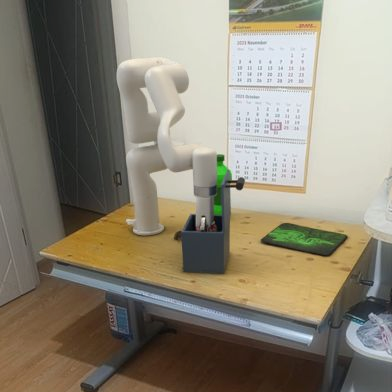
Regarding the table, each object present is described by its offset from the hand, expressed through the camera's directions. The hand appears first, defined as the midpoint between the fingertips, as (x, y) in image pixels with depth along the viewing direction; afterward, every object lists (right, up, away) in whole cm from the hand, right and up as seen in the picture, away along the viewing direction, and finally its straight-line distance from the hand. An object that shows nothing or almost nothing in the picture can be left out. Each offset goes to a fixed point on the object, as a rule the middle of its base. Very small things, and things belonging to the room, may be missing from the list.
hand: (206, 242), depth 160 cm
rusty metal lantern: (-6, +5, +20) cm, 22 cm away
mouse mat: (+37, +5, +17) cm, 41 cm away
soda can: (0, -4, +3) cm, 5 cm away
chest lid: (+6, +11, -9) cm, 16 cm away
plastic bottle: (+6, +20, +41) cm, 46 cm away
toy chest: (0, -6, +4) cm, 7 cm away
